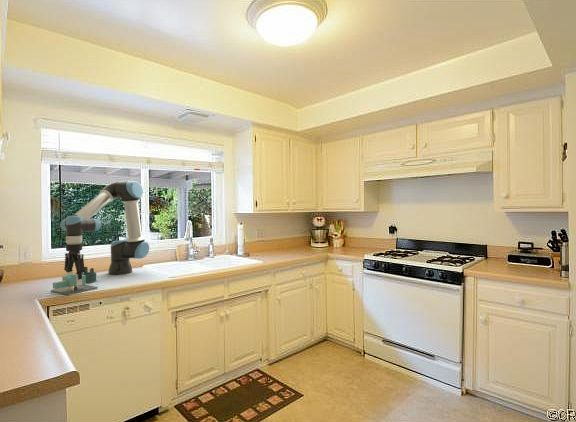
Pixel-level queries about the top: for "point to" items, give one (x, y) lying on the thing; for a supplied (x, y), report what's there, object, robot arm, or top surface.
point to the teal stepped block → (68, 281)
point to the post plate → (74, 289)
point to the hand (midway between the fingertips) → (74, 284)
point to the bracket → (90, 275)
